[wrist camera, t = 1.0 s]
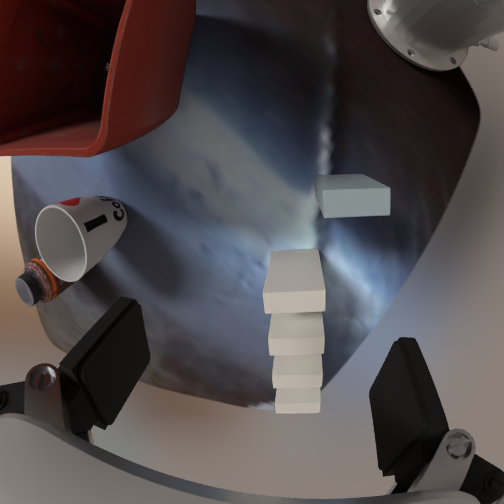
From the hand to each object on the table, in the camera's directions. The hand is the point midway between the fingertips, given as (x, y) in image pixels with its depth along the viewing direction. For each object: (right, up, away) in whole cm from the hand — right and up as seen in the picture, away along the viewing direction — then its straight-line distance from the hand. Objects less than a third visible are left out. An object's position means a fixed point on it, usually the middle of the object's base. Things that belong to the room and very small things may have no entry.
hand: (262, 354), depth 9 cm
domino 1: (+4, +3, +21) cm, 22 cm away
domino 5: (+8, +10, +17) cm, 22 cm away
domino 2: (+5, -2, +23) cm, 23 cm away
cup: (-18, +8, +23) cm, 30 cm away
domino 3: (+5, -6, +25) cm, 26 cm away
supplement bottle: (-26, +3, +26) cm, 37 cm away
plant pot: (-13, +25, +15) cm, 32 cm away
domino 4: (+6, -10, +26) cm, 29 cm away
